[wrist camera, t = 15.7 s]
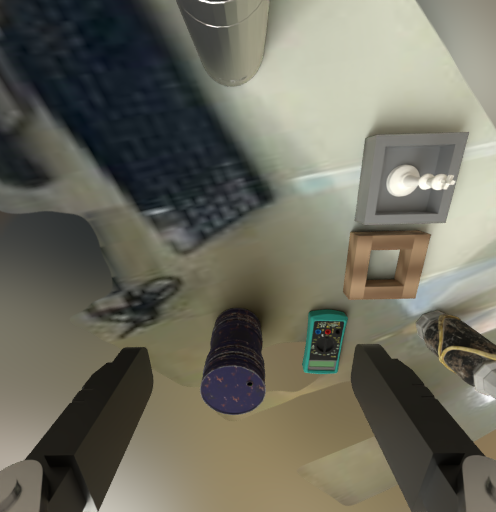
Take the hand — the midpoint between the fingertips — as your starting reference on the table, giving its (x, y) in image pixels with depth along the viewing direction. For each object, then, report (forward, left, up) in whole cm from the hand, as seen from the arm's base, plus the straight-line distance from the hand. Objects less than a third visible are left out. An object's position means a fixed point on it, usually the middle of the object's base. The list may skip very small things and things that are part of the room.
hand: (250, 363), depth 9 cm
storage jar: (+23, -3, -33) cm, 41 cm away
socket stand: (+9, +24, -33) cm, 42 cm away
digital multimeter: (+26, +15, -34) cm, 45 cm away
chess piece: (-6, +25, -32) cm, 41 cm away
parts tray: (-6, +25, -33) cm, 42 cm away
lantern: (+23, +37, -33) cm, 55 cm away
